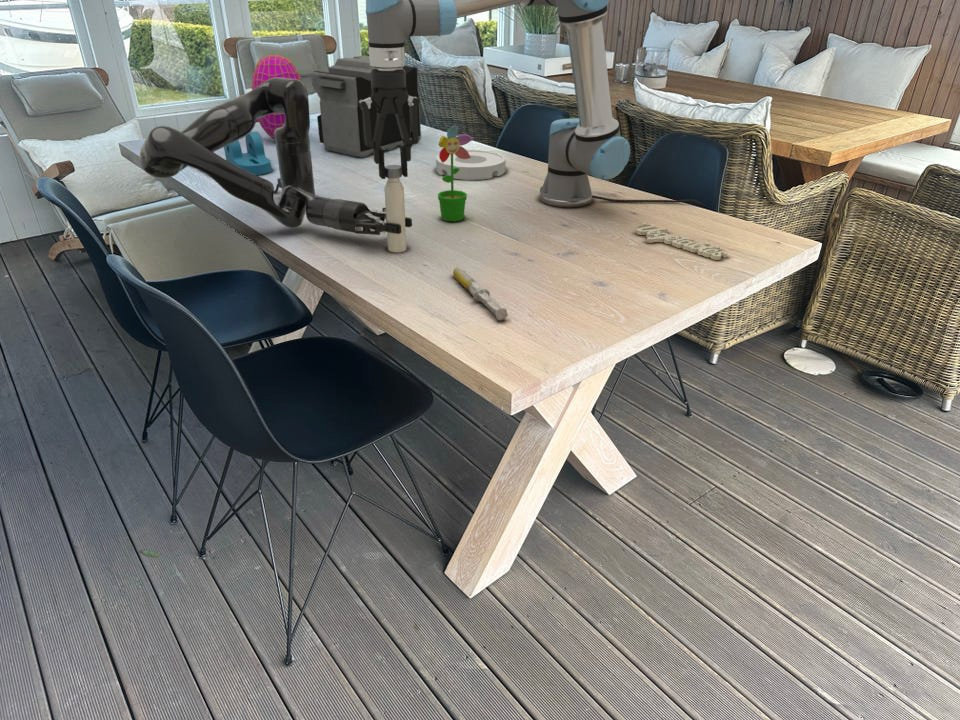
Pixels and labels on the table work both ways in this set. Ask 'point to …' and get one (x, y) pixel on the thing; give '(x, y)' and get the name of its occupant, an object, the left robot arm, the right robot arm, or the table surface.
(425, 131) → the table surface
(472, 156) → the ashtray
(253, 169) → the camera mount
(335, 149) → the electronic device
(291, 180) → the left robot arm
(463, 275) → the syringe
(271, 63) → the decorative egg
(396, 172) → the cap
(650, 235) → the decorative sign
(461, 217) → the potted flower
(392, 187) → the bottle
